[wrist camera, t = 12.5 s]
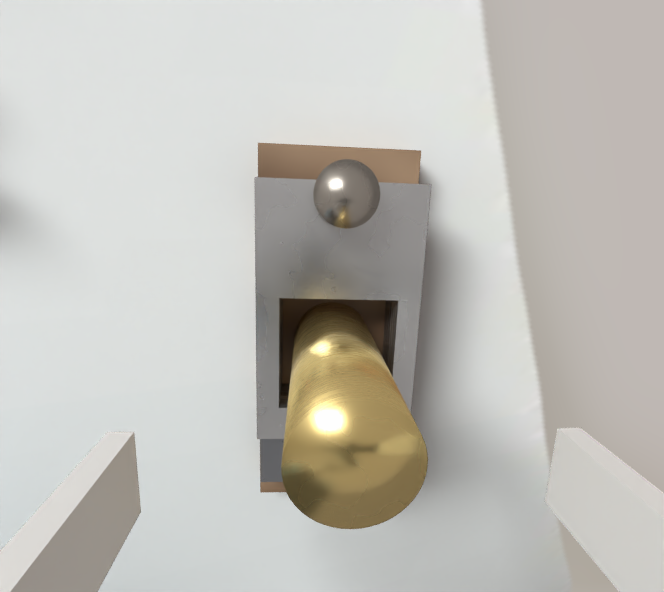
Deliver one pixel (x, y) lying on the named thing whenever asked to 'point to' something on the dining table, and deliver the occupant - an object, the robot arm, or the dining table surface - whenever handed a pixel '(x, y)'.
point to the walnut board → (308, 166)
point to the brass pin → (347, 426)
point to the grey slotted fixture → (334, 272)
